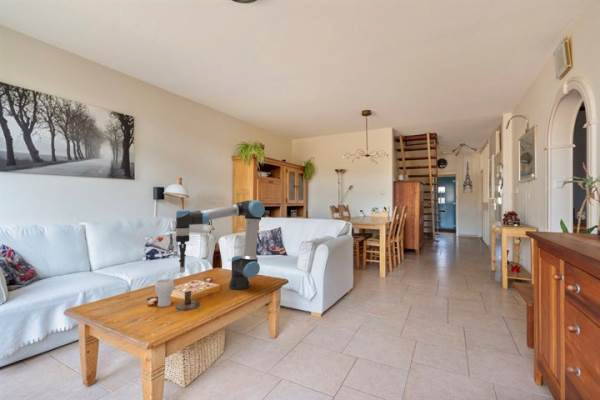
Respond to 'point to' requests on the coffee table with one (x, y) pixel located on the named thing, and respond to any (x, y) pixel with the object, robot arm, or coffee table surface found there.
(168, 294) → the cup
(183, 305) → the lid
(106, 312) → the coffee table surface
